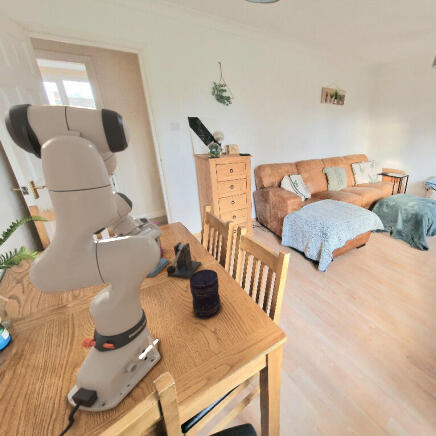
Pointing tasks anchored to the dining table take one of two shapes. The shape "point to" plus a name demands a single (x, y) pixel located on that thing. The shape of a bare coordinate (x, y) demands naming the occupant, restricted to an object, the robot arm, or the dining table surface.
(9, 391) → the dining table surface
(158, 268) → the panel
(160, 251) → the candy bar box
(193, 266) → the switch bracket
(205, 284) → the storage jar
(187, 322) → the dining table surface
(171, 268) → the power lever
